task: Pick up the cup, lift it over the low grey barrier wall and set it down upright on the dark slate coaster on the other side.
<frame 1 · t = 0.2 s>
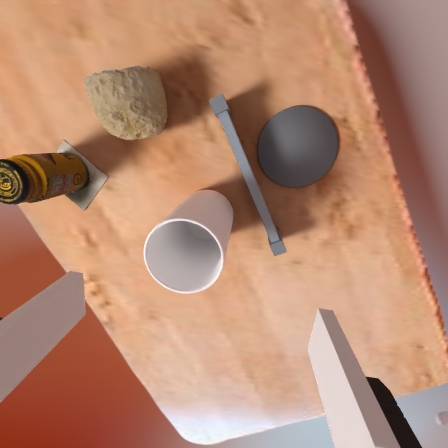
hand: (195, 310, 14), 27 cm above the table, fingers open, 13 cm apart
condiment: (76, 176, 42), on the table
grey barrier wall: (250, 176, 39), on the table
slate coaster: (296, 148, 37), on the table
cup: (207, 214, 41), on the table
beige rough lump: (143, 108, 37), on the table
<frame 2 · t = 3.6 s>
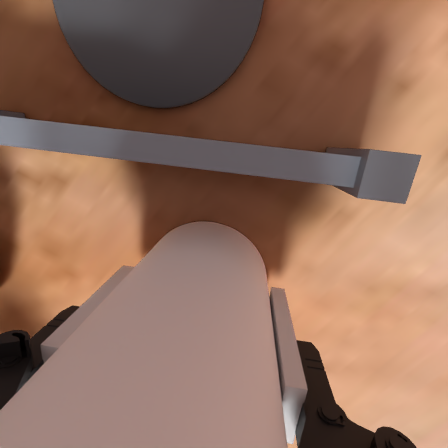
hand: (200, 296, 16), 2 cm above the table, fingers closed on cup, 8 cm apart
grey barrier wall: (169, 145, 16), on the table
cup: (206, 276, 18), on the table, touching gripper
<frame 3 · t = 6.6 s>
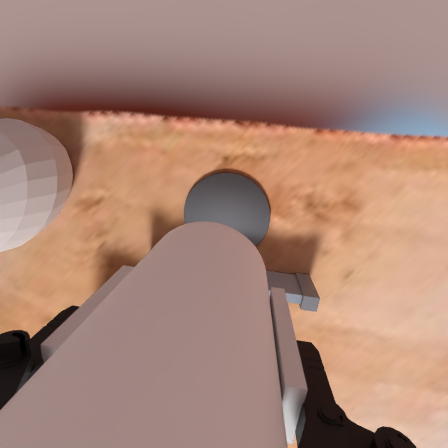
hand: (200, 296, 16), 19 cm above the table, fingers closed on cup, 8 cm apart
soap bottle: (44, 182, 35), on the table
grey barrier wall: (227, 269, 36), on the table
slate coaster: (226, 215, 33), on the table
cup: (206, 276, 18), point 16 cm above the table, touching gripper
when the fingers open (4 cm above the table, at t = 10.0 s): cup stays where it is, resting on slate coaster.
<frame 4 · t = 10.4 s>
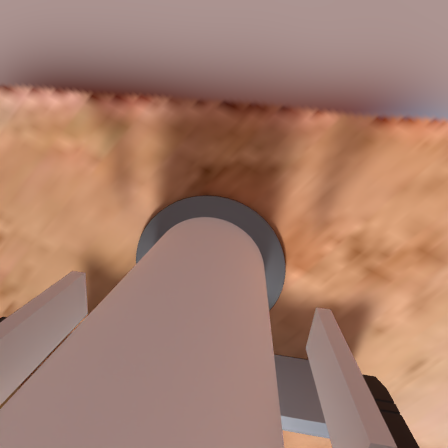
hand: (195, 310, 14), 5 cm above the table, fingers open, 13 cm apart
grey barrier wall: (213, 350, 22), on the table
slate coaster: (209, 268, 19), on the table
cup: (208, 269, 19), resting on slate coaster
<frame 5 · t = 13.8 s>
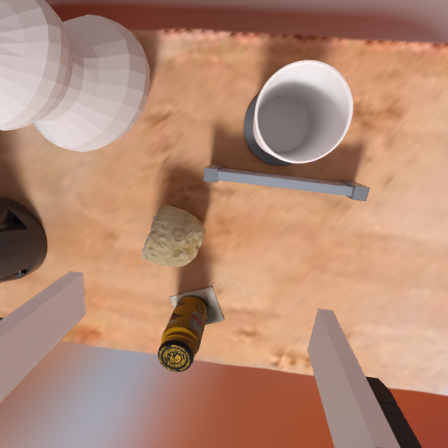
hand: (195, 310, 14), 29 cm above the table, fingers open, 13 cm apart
soap bottle: (117, 99, 39), on the table
condiment: (197, 307, 49), on the table
grey barrier wall: (279, 178, 40), on the table
slate coaster: (281, 126, 38), on the table
cup: (281, 126, 38), resting on slate coaster
beige rough lump: (180, 229, 44), on the table
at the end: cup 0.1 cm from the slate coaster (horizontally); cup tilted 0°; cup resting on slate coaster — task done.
